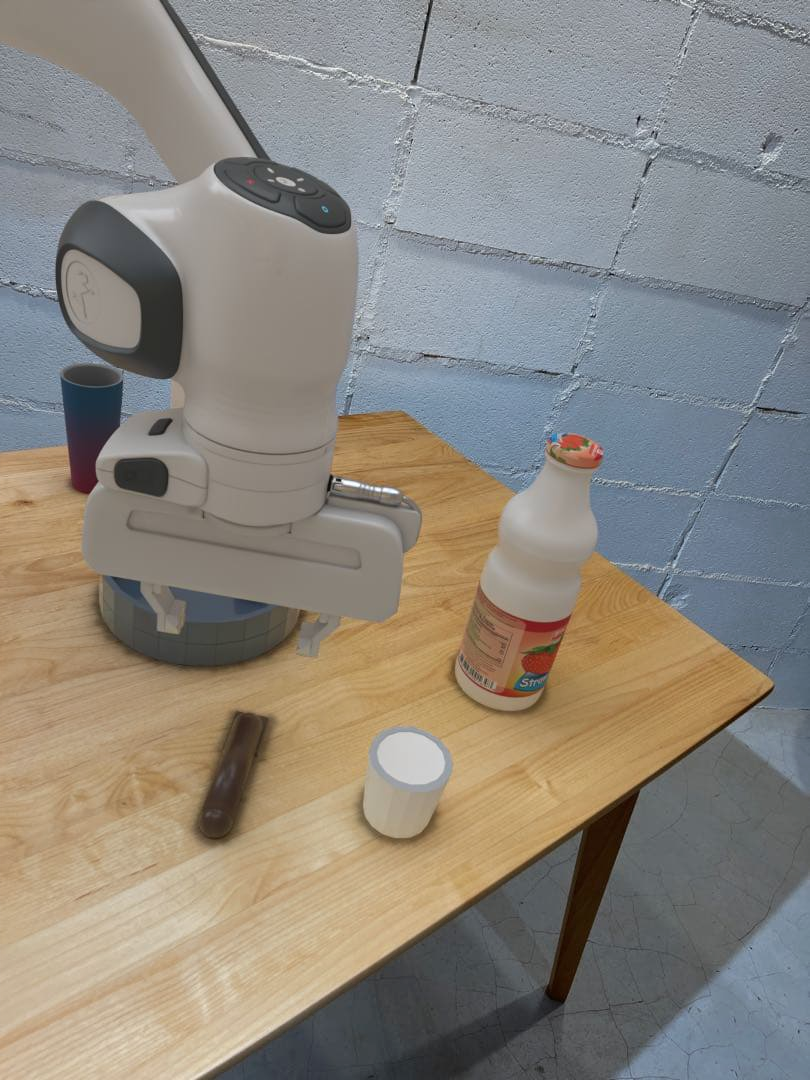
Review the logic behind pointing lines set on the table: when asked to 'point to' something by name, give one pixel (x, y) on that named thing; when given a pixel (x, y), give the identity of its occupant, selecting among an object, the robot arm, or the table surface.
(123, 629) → the bowl
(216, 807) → the brown bar
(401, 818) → the shot glass
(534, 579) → the fruit juice
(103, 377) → the cup
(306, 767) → the table surface
